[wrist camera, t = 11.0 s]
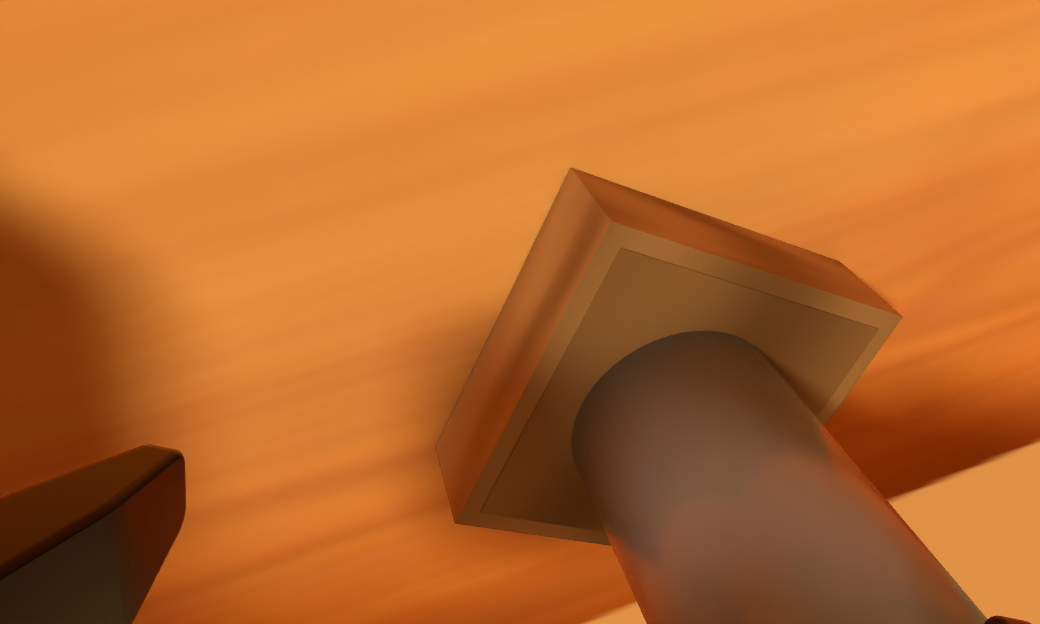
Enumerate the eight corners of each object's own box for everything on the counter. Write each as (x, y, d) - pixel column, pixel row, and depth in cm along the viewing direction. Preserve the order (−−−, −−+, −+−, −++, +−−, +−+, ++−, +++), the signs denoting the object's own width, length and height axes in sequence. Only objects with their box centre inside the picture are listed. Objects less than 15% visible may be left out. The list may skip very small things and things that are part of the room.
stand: (435, 447, 25) (455, 524, 22) (570, 167, 21) (612, 222, 19) (687, 493, 29) (728, 563, 26) (839, 261, 25) (904, 317, 22)
